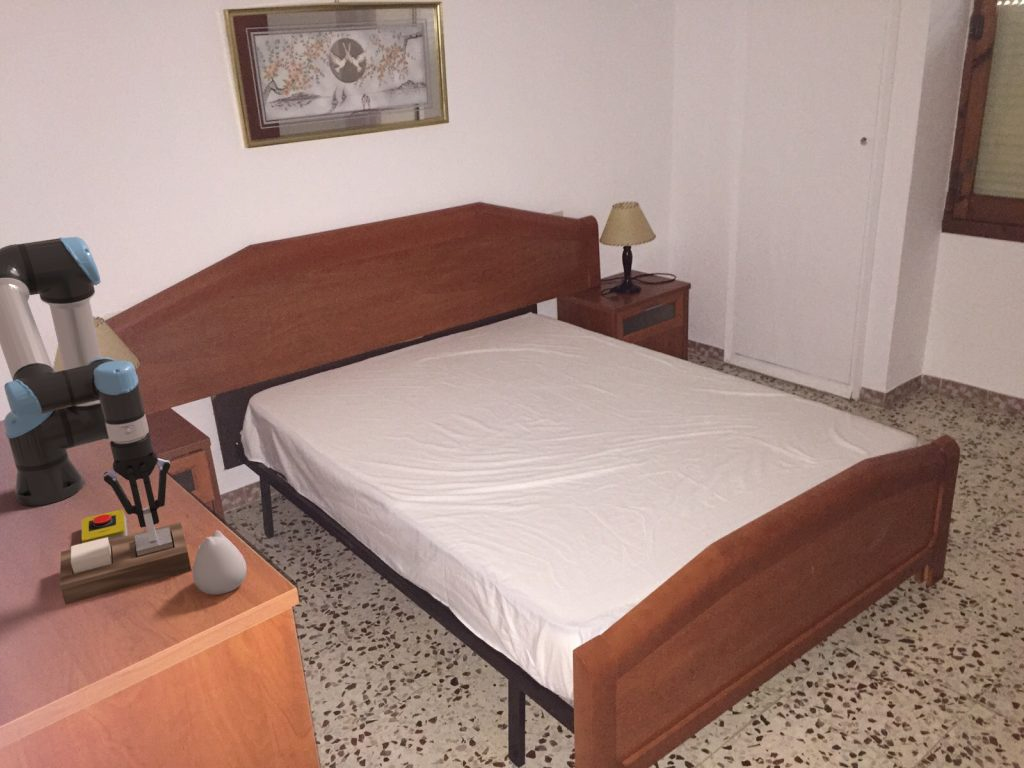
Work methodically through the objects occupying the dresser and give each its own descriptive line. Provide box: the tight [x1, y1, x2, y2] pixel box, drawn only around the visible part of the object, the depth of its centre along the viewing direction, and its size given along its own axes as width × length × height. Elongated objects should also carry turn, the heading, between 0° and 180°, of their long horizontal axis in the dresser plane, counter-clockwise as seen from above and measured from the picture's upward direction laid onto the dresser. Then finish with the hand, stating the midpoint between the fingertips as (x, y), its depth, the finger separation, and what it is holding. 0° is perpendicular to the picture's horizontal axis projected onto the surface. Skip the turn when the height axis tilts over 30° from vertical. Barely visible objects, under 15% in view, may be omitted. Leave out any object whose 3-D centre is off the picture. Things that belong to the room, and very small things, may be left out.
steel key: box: [135, 527, 174, 557], centre depth 177 cm, size 7×7×3 cm
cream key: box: [70, 537, 112, 574], centre depth 171 cm, size 7×7×3 cm
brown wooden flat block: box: [59, 521, 192, 605], centre depth 175 cm, size 14×24×4 cm, turn 116°
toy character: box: [192, 529, 248, 596], centre depth 167 cm, size 10×10×12 cm
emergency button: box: [81, 509, 129, 544], centre depth 189 cm, size 9×4×15 cm
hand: (152, 537), depth 176 cm, fingers closed
